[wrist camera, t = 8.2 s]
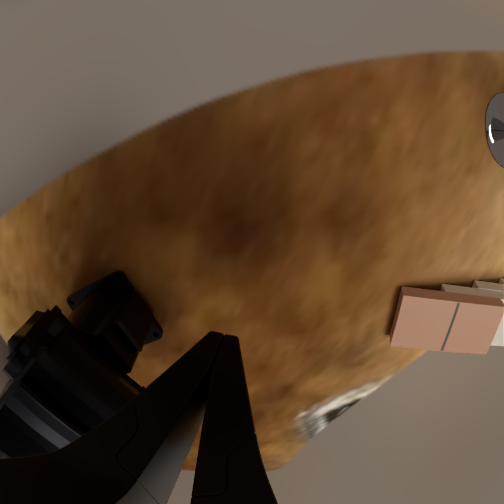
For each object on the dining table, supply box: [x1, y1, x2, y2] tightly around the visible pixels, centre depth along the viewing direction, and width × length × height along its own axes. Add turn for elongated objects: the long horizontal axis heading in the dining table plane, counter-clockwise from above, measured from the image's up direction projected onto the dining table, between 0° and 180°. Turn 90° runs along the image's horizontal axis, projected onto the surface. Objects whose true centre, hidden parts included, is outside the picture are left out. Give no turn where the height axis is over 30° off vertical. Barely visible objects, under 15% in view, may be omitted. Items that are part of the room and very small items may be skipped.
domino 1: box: [390, 286, 504, 354], centre depth 22 cm, size 2×5×10 cm
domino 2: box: [440, 284, 504, 346], centre depth 22 cm, size 2×5×10 cm
